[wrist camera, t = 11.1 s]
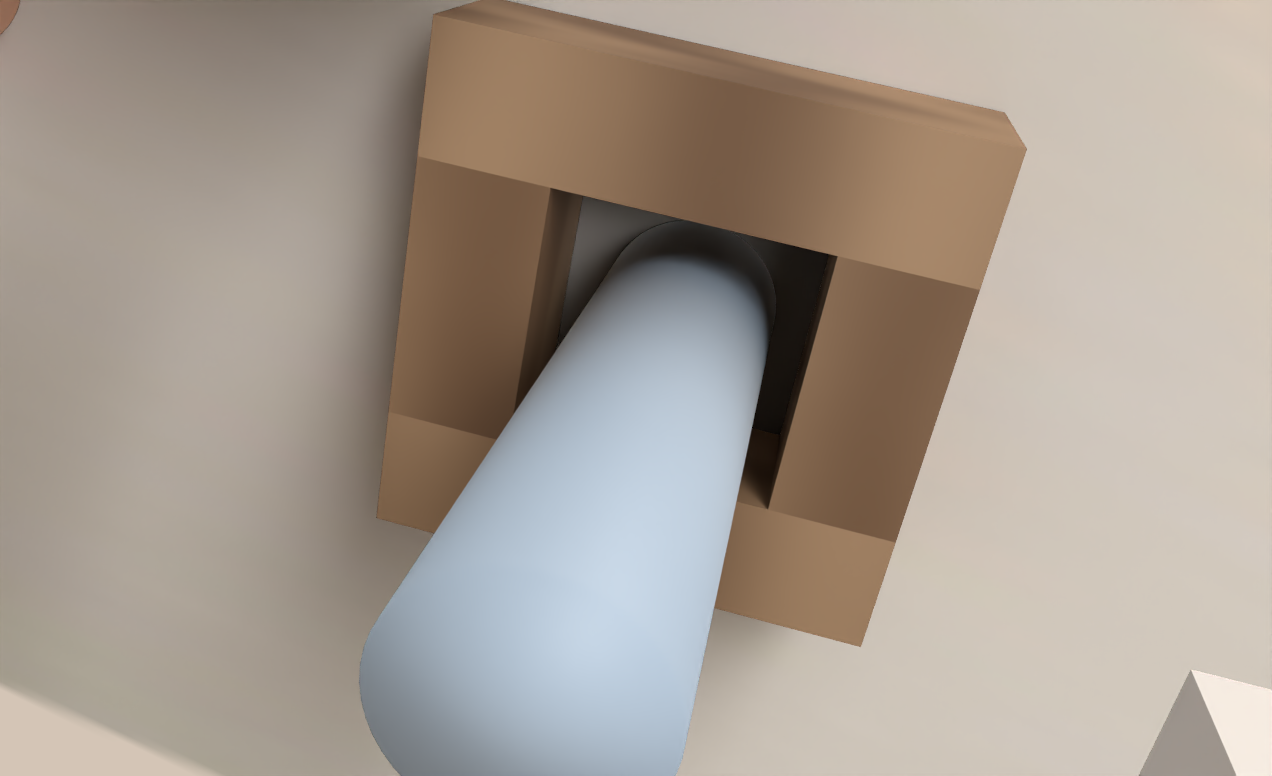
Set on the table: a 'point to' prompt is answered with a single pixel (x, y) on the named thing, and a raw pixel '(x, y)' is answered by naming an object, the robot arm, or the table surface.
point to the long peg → (587, 536)
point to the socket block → (716, 196)
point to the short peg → (7, 12)
